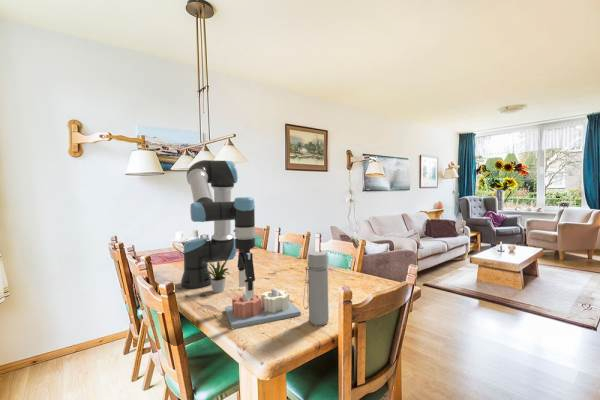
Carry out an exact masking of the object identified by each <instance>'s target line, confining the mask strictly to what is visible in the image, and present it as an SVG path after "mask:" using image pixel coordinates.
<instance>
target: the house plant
mask: <svg viewBox="0 0 600 400" xmlns="http://www.w3.org/2000/svg"><path fill="white" fill-rule="evenodd" d="M210 261H211V260H210ZM228 261H230V260H229V259H228V260H226V261H223V260H222V261H219V258H218V262H217V263H216V267H215V264H214V263H215V262H210V263H209V266H208V269H209V270H211V271H207V272H206V273H208V274H210V275H212V277H211V284H210V285H211V289H212V293H214V294H219V293H220V292H221V293H224V292H225V286H226V276H227V275H226V274H228V275H230V272H228V270H229V267H227V268H225V266H226V265H227V263H228ZM222 262H223V264H222V265H221V263H222ZM204 263H205V262H204ZM206 264H207V263H206Z"/></svg>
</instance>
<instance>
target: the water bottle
mask: <svg viewBox="0 0 600 400" xmlns="http://www.w3.org/2000/svg"><path fill="white" fill-rule="evenodd" d="M304 268H305V274H307V278H304V279H305V281H304V282H305V283H304V285H306V288H307V289H306V288H304V292H303V296H305V293H306V292H307V293H306V294H307V297H308V305H307V307H305V306H303V308H304V310H308V321H309V322H310V323H311V325H314V326H324V325H327V324H328V322H329V317H330V315H329V309H330V307H329V264H328V253H327V252H325V251H311V252H309V253H308V257H307V266H305V267H304ZM306 290H307V291H306ZM302 303H303V305H305V299H303V301H302Z"/></svg>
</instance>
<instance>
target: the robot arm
mask: <svg viewBox="0 0 600 400" xmlns="http://www.w3.org/2000/svg"><path fill="white" fill-rule="evenodd" d="M186 181H187V183H188V185H190V190H191V193H192V200H193V202H192V203H191V204H190V207H189V208H190V209H189V210H190V212H189V213H190V220H191V222H194V223H196V222H197V223H204V222H213V226H214V227H213V234H212V235H211V236H210V237H211V238H210V239H209V240H208V239H207V237H200V238H194V239H190V240H188V241H185V242H184V244H183V250H182V252H183V268H184V269H183V273H182V277H181V280H180V287H182V288H183V289H184V288H185V289H198V288H203V287H207V286H209V285H212V284H211V278H212V276H211V274H208V273H206V272H207V271H209V270H210V269H209V264H210V262H211V263H212V262H213V263H216V262H218V258H219V262H221V261H222V260H223V261H222V262H225V261H226V260H228V259H229V260H228V261H231V260H233V259H235V257H236V254H237V250H238V257H237V258H238V260H237V268H238V269H237V270H238V287H239V288H243V287H245V293H246V299H252V298H254V294H255V292H254V288H255V287H254V281H256V277H255V276H256V275H255V269H254V267H255V266H254V260H253V255H254V254H253V253H252V252H251V249H254V248H255V246H256V238H255V236H256V226H255V223H256V222H255V215H256V214H255V211H256V210H255V208H256V207H255V199H254V198H253V197H250V196H245V197H244V196H243V197H242V196H241V197H235V198H234V200H233V201H232V190H233V189H234V187H235V184H237V182H238V170H237V167H236V164H235V162H233V161H231V160H207V159H206V160H205V159H204V160H202V159H201V160H199V161H196V162H195V163H193V164H192V165H191V166H190V167H189V168H188V169H187V172H186ZM209 184H210V186H209ZM210 187H211V188H212V189H213V196H212V191H211V189H210ZM231 221H234V229H233V233H234V235H233V234H232V232H231V231H232V230H231V229H232V228H231V226H232V225H231V224H232V223H231ZM234 237H235V238H234ZM210 260H211V261H210ZM204 262H205V263H204ZM206 263H207V264H206ZM209 272H210V271H209Z"/></svg>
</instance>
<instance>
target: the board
mask: <svg viewBox="0 0 600 400" xmlns="http://www.w3.org/2000/svg"><path fill="white" fill-rule="evenodd" d="M260 295H261V297H260V299H261V312H260V313H259V314H257V316H253V315H251V316H246V318H242V317H240V318H238V317H235V316H234V313H233V312H232V305H230V306H224V311H226V312H225V313H226V317H227V320H228V319H229V320H228V323H229V324H230V327H232V328H234V329H238V328H237V327H239V328H244V327H248V325H250V326H254V324H255V325H259V324H260V325H261V324H265V323H269V322H274V321H279V320H284V319H290V318H294V317H300V316H302V314H301V313H302V312H301V310H300V309H299V308H298V307H297V306H295V304H294V303H293V302H292V301H291V300H290V294H289V293H287V292H286V290H282V289H279V288H276V287H273V288H272V289H271V291H269V290H267V291H266V290H265V292H262V293H261V294H260ZM242 296H243V302H246V301H250V299H246V292H243V293H242ZM243 326H244V327H243ZM232 328H231V329H232Z"/></svg>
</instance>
